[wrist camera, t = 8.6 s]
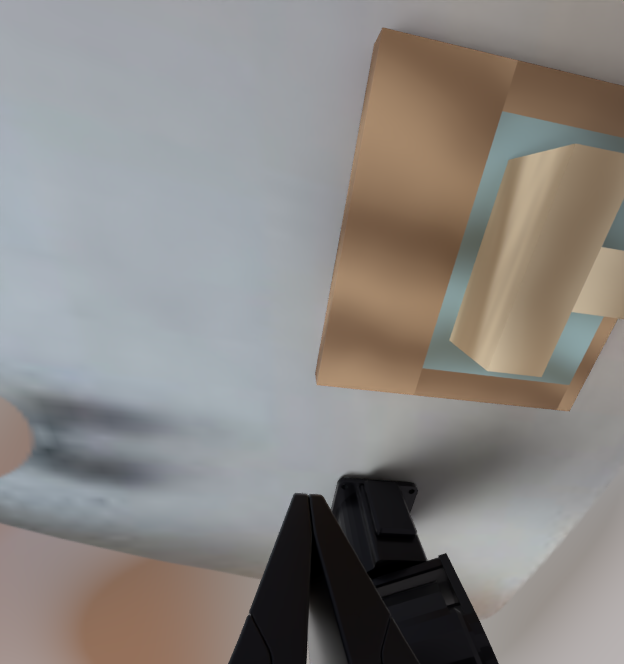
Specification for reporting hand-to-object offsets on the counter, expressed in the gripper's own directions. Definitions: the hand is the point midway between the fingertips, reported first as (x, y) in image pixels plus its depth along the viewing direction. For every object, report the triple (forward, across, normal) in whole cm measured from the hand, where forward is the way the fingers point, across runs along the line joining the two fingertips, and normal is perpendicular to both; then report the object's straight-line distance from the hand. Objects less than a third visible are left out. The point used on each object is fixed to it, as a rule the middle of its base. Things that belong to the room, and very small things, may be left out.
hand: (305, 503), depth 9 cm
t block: (+10, -14, -7) cm, 19 cm away
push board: (+12, -10, -7) cm, 17 cm away
